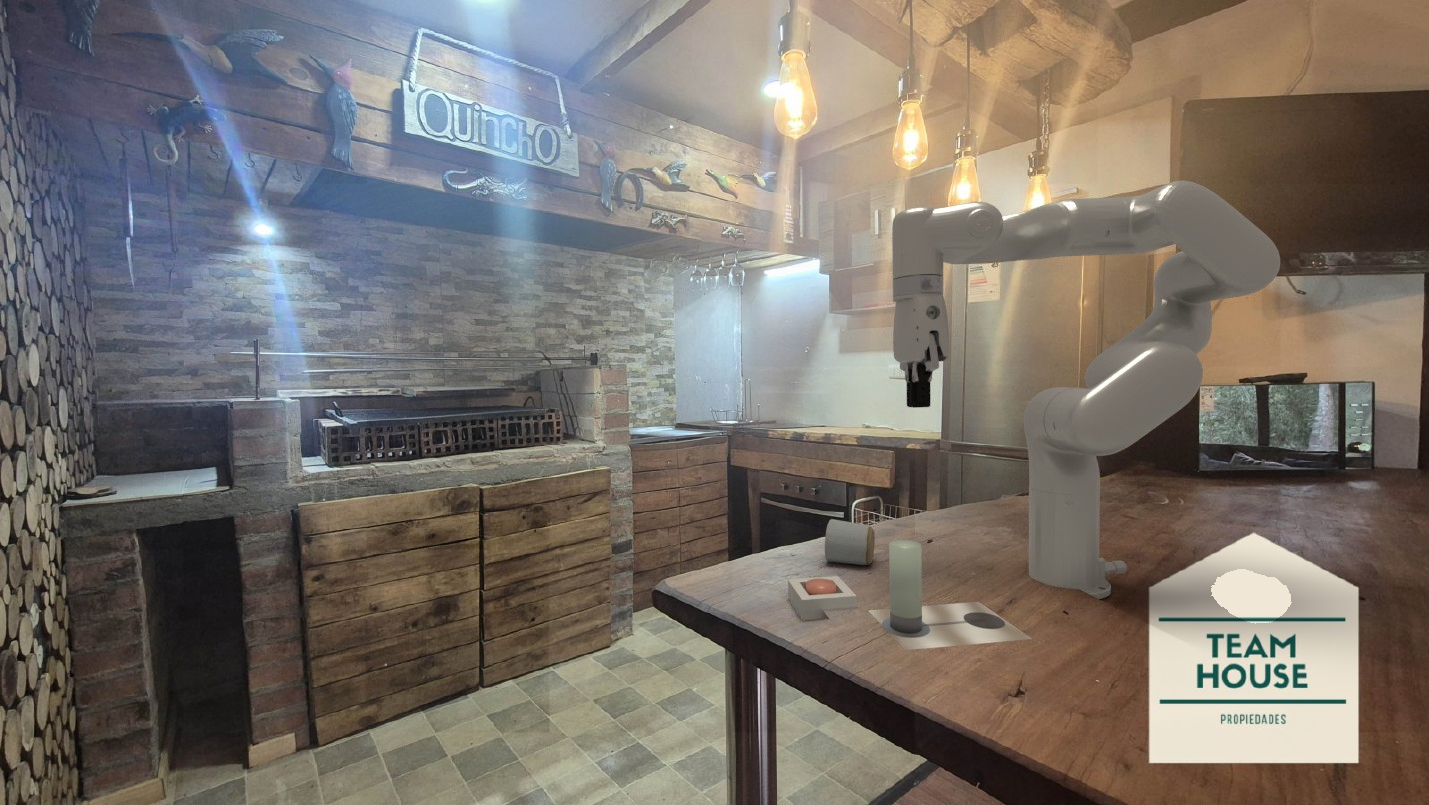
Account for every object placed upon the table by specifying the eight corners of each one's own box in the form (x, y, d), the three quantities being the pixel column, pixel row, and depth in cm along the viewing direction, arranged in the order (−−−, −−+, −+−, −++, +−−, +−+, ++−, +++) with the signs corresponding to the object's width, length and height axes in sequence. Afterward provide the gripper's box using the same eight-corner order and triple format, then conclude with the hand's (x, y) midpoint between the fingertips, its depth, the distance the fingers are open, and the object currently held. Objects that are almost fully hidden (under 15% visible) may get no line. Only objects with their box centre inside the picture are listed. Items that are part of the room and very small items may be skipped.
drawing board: (980, 608, 83) (980, 599, 83) (1041, 651, 70) (1041, 640, 70) (861, 617, 81) (861, 608, 81) (902, 664, 68) (902, 653, 68)
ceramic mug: (871, 571, 99) (870, 528, 99) (824, 566, 102) (823, 524, 102) (877, 554, 109) (877, 514, 108) (834, 550, 112) (834, 511, 111)
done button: (830, 590, 87) (830, 577, 87) (840, 601, 83) (840, 588, 83) (802, 592, 86) (802, 579, 86) (811, 604, 82) (810, 590, 82)
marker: (913, 619, 77) (912, 539, 76) (927, 632, 73) (927, 548, 72) (885, 621, 76) (884, 540, 76) (898, 634, 72) (897, 550, 72)
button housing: (838, 594, 89) (837, 576, 89) (856, 616, 81) (856, 595, 81) (788, 598, 88) (788, 579, 88) (802, 620, 80) (802, 600, 80)
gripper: (966, 282, 82) (967, 409, 83) (917, 296, 97) (918, 403, 98) (917, 283, 81) (918, 411, 82) (875, 297, 96) (876, 405, 97)
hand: (918, 406), depth 90 cm, fingers closed
